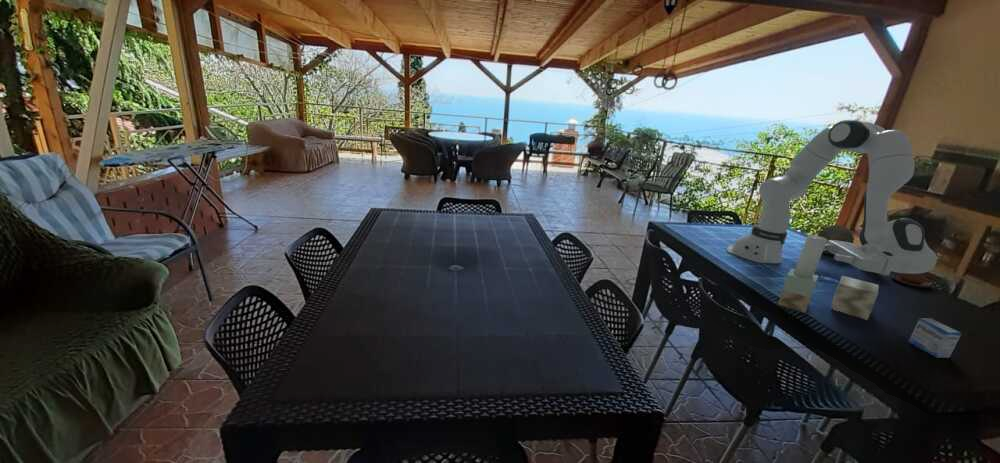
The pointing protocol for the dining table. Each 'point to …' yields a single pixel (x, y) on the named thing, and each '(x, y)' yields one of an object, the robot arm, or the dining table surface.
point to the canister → (810, 256)
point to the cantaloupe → (836, 235)
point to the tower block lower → (794, 301)
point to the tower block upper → (800, 284)
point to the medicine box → (934, 338)
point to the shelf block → (855, 297)
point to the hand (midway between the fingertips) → (826, 252)
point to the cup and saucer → (913, 279)
